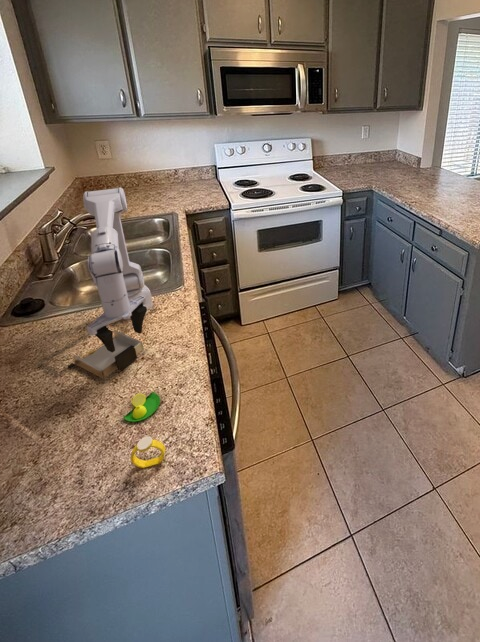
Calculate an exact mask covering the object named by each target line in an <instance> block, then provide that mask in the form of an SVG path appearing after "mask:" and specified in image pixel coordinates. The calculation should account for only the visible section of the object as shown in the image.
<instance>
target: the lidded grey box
mask: <svg viewBox="0 0 480 642" xmlns="http://www.w3.org/2000/svg"><path fill="white" fill-rule="evenodd" d="M112 331H113V337H114V338H113V343H114V347H115V351H114V352H110V351H108V350H107V348H106V347H105V345H104V344H103V345H102V346H100V347H98V348H97V349H94V350H95V351H94V352H93V353H91V354H89V355H87V356H85V357H83V358H82V357H79V356H78V355H77V354H74V355H73V356H72V359H73V361H74V364H75V366H76V365H77V366H78V367H80V368H81V369H84V370H86V371H87V372H89V373H90V374H91V373H92V374H93V375H95V376H97V378H100V379H102V380H103V379H105V378H106V377H108V376H109V375H111V374H112V373H113V372H115V371H116V370H119V371H122V370H123V369H125V368H126V367H127V366H129V365H130V364H132V363H133V362H134V361H136V360H137V359H138V354H139V353H141V352H142V351H143V350H144V344H143V341H140V340H138V339H136V338H134V337H132V336H130V335H127V334H125V333H122V332H120V331H119V330H116V329H114V330H112Z"/></svg>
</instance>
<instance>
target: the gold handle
mask: <svg viewBox="0 0 480 642" xmlns="http://www.w3.org/2000/svg"><path fill="white" fill-rule="evenodd" d="M75 366H76V364H75V363H73V362H72V363H70V364H68V365H67V367H68V368H69V369H72V368H73V367H75Z"/></svg>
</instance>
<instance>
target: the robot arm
mask: <svg viewBox="0 0 480 642" xmlns="http://www.w3.org/2000/svg"><path fill="white" fill-rule="evenodd" d="M82 199H83V200H82V201H83V205H84V209H85V211H86V213H88V215H91V216H93V217H94V220H95V226H96V229H94V230H93V231H92V232H91V240H90V241H91V242H90V243H91V245H90V248H91V249H90V250H91V252H90V254H91V255H88V256H87V268H88V272H89V274H90V276H91V278H92V280H93V283H94V285H95V286H96V288H97V292H98V297H99V299H100V300H99V301H100V304H101V306H102V307H101V308H102V310H103V313H102V314H101V315H99V316H98V317H97V318H96V319H94V321H92V322H91V323H90V324H89V325H87V326H85V328H86V331H87V334H88V335H90V336H93V337H94V336H95V337H96V338H97V339H99V341H101V343H102V344H103V345H105V347H106V348H107V350H108V351H110V352H114V351H115V347H114V343H113V339H114V338H113V337H114V333H113V331H114V330H112V329H109V327H108V326H109V325H110V324H113V323H116V322H118V321H121V320H125V321H130V320H131V324H132V328H133V331H134V333H137V334H139V335H141V334H142V333H143V326H144V325H143V324H144V319H145V317H146V313H147V312H148V311H149V310H150V309H152V308H154V301H153V296H152V293H151V290H150V288H149V287H148V285H146V284H145V278H144V273H143V270H142V267H141V265H140V264H138V263H136V262H133V261H130V257H129V252H128V247H127V243H126V238H125V233H124V228H123V225H122V219H121V217H122V214H124V213H125V212H127V211H128V204H127V197H126V193H125V189H124V188H122V187H117V188H108V189H100V190H91V191H87V190H86V191H84V193H83V194H82Z"/></svg>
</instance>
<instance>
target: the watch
mask: <svg viewBox="0 0 480 642" xmlns="http://www.w3.org/2000/svg"><path fill="white" fill-rule="evenodd" d="M151 448H153V449H154V448H155V449H157V450H159V451H160V453H161V454H160V455H159V456H158V457H155V458H151V459H147V460H144V459H140V458H139V457H137V456H136V453H137V452H140V453H144V452H146V451H148V450H150V449H151ZM165 453H166V446H165V445H164V443H163V442H161V441H160V440H157V439H153V437H152V436H148V435H147V436H144V437H142V438H141V439H139V441H137V444H136V445H135V446H133V449H132V451H131V454H130V461H131V464H133V465H134V466H136V467H137V468H141V469H146V468H148V467H153V466H156V465H160V463H162V461H163V460H164V457H165Z"/></svg>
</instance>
